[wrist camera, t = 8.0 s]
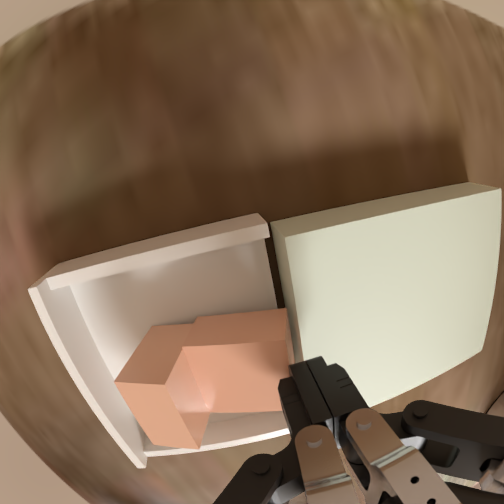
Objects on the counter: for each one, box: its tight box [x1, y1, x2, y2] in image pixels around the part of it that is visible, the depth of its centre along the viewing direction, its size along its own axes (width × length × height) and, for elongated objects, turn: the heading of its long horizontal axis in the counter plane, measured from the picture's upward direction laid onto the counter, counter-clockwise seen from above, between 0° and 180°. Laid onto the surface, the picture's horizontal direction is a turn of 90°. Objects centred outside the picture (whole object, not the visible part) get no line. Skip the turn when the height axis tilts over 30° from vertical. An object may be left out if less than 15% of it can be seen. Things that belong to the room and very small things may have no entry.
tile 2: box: [114, 323, 210, 449], centre depth 14 cm, size 4×4×2 cm
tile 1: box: [182, 308, 295, 413], centre depth 14 cm, size 4×4×2 cm
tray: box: [28, 213, 289, 468], centre depth 15 cm, size 11×13×4 cm
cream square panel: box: [270, 182, 501, 407], centre depth 16 cm, size 14×12×3 cm
